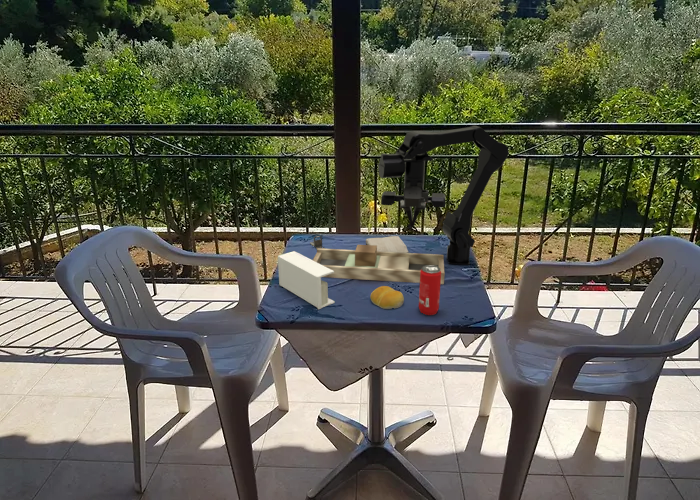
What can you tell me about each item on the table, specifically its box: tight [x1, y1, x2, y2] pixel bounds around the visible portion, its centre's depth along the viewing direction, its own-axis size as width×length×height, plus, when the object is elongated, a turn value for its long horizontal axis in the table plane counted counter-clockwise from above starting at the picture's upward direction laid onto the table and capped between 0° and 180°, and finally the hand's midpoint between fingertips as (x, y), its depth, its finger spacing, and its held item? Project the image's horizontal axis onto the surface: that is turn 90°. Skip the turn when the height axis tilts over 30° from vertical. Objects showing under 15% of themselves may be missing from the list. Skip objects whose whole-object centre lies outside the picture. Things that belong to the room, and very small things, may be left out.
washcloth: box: [365, 235, 410, 253], centre depth 171 cm, size 12×18×3 cm, turn 10°
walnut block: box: [354, 244, 377, 267], centre depth 155 cm, size 6×6×4 cm
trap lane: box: [312, 248, 446, 285], centre depth 155 cm, size 40×14×4 cm, turn 81°
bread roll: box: [370, 285, 405, 310], centre depth 136 cm, size 8×9×4 cm
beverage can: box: [418, 265, 442, 316], centre depth 130 cm, size 5×5×12 cm
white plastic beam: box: [277, 250, 335, 310], centre depth 140 cm, size 20×6×9 cm, turn 40°
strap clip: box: [309, 235, 327, 250], centre depth 174 cm, size 8×3×4 cm, turn 27°
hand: (412, 226), depth 154 cm, fingers closed
